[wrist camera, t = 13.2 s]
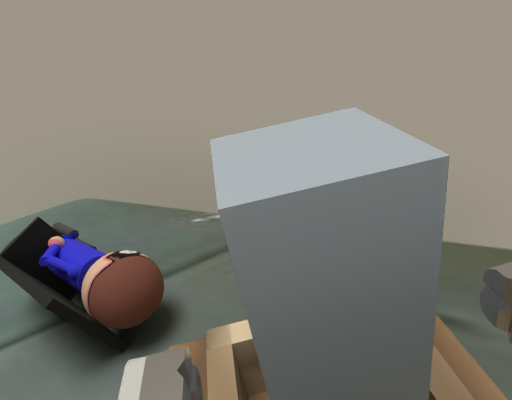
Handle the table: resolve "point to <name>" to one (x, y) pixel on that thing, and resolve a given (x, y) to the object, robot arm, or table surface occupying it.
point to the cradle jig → (253, 386)
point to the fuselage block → (335, 253)
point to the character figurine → (84, 279)
